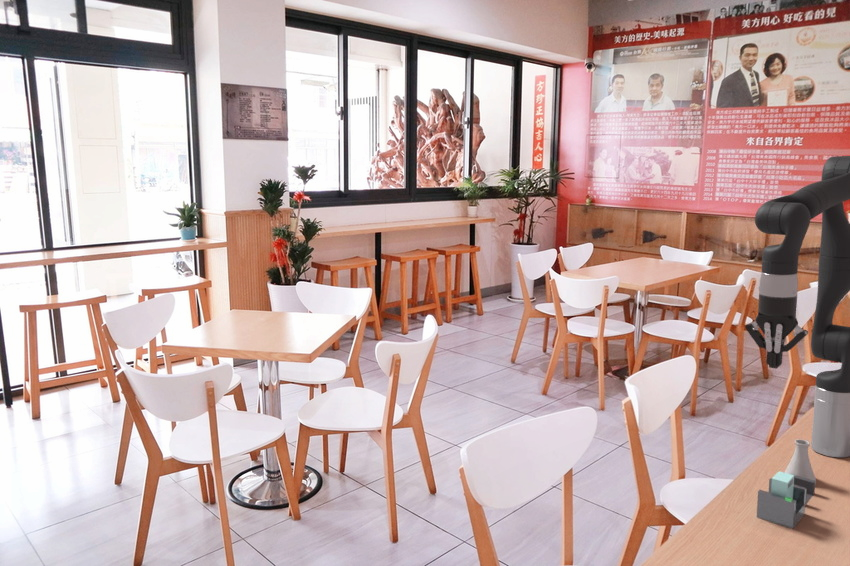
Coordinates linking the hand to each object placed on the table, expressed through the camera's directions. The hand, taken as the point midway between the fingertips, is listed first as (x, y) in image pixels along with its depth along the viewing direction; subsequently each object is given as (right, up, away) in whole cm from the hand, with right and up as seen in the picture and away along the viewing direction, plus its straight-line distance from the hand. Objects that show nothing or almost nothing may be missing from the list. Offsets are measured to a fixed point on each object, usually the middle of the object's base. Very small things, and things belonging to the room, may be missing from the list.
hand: (773, 367), depth 149 cm
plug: (-3, -30, -9) cm, 31 cm away
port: (-3, -31, -9) cm, 32 cm away
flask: (+10, -28, +7) cm, 30 cm away
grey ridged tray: (+5, -29, -1) cm, 30 cm away
